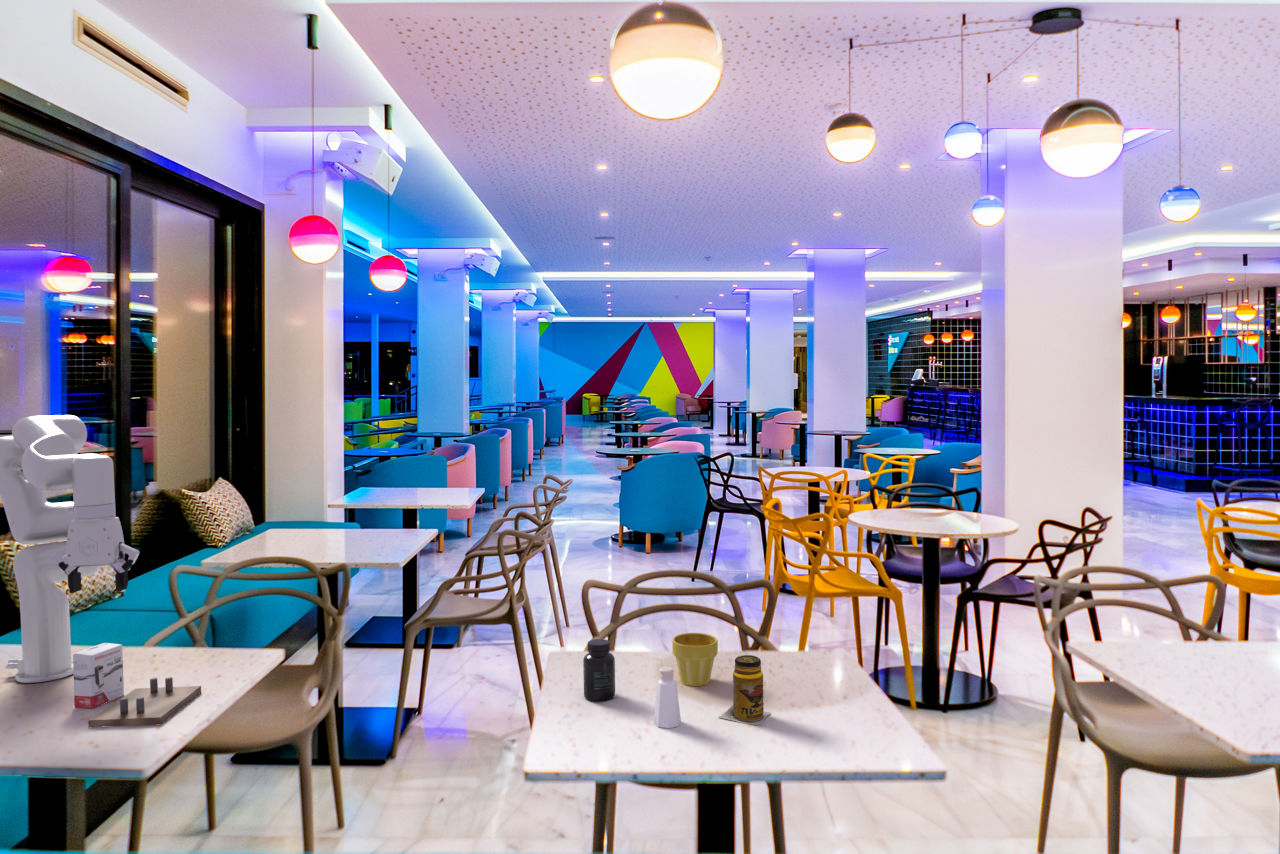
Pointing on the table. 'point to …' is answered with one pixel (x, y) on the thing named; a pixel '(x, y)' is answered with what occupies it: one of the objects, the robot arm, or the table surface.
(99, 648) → the ink box
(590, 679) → the supplement bottle
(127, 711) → the pin dock
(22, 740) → the table surface
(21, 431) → the robot arm
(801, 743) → the table surface
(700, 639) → the plant pot
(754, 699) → the condiment
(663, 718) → the salt shaker
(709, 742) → the table surface
